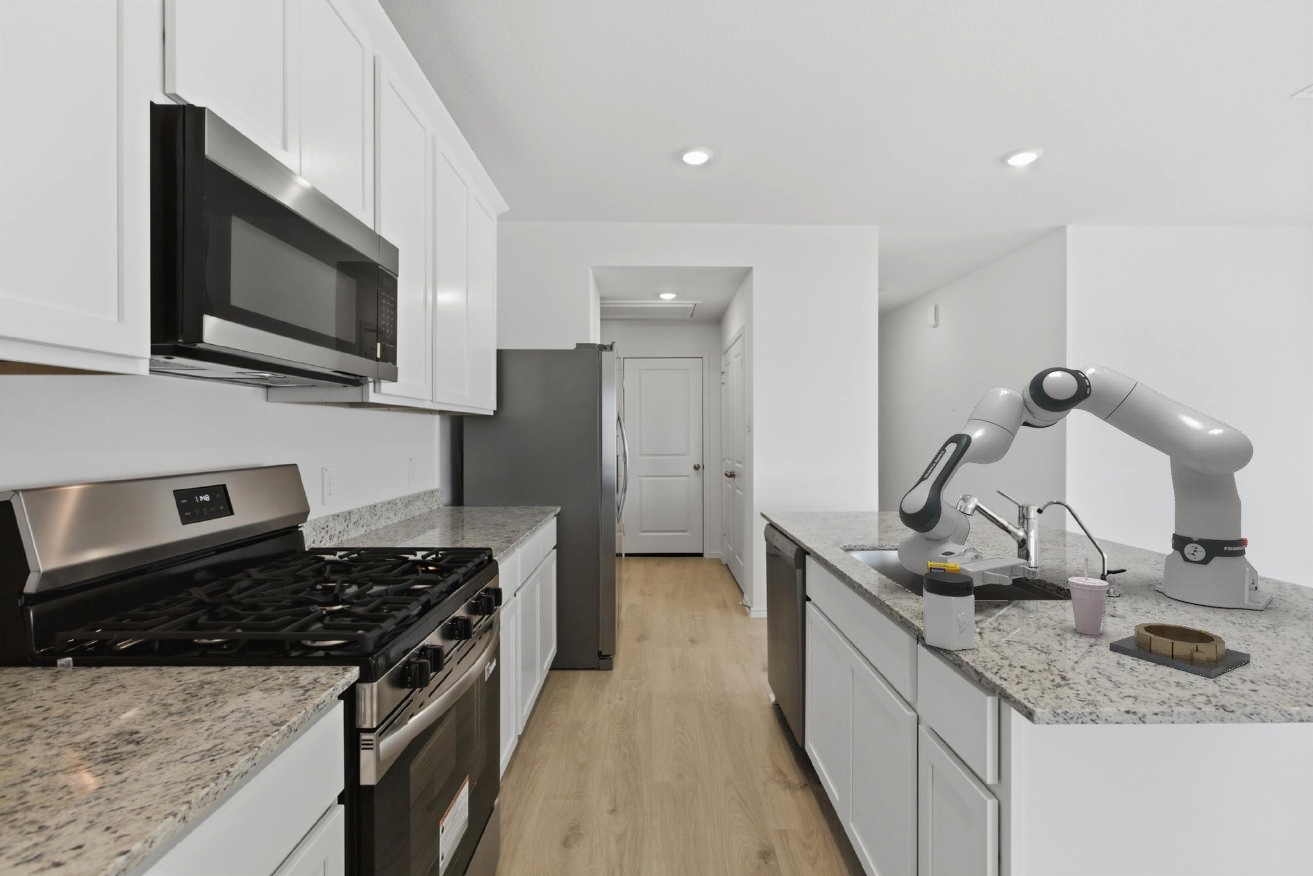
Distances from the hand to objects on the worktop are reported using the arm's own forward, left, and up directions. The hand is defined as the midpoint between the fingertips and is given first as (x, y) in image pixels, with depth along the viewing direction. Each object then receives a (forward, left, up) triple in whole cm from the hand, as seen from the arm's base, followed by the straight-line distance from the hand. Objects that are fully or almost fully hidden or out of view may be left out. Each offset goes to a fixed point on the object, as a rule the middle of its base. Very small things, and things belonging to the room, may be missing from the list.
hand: (1024, 578), depth 127 cm
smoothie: (0, +12, -8) cm, 14 cm away
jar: (+28, +3, -8) cm, 29 cm away
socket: (0, +26, -8) cm, 27 cm away
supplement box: (+16, -7, -8) cm, 19 cm away
